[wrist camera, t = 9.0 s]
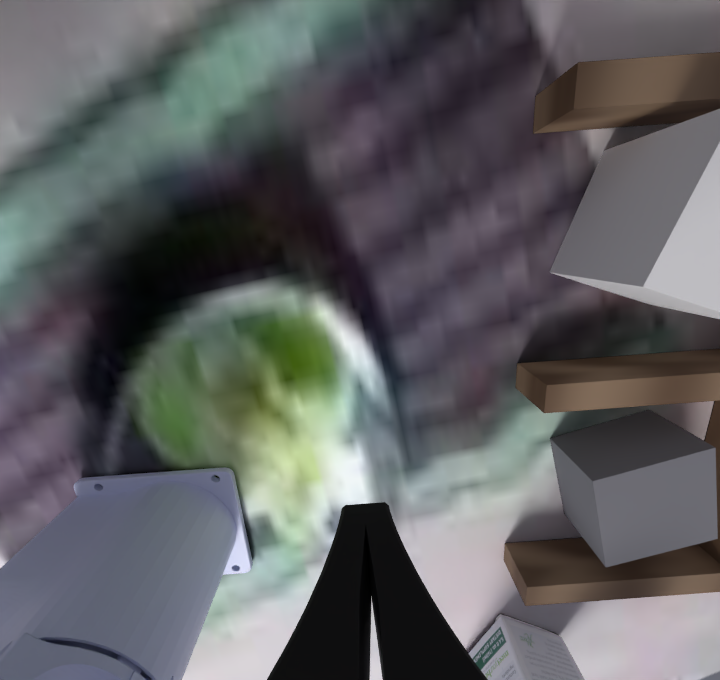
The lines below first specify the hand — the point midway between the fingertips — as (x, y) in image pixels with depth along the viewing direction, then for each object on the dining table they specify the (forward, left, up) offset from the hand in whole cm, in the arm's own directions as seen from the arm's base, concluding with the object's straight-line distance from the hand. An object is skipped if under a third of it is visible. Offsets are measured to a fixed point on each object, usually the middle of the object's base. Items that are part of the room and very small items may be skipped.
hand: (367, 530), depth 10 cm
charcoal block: (+15, -6, -10) cm, 19 cm away
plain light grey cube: (+14, +8, -10) cm, 19 cm away
